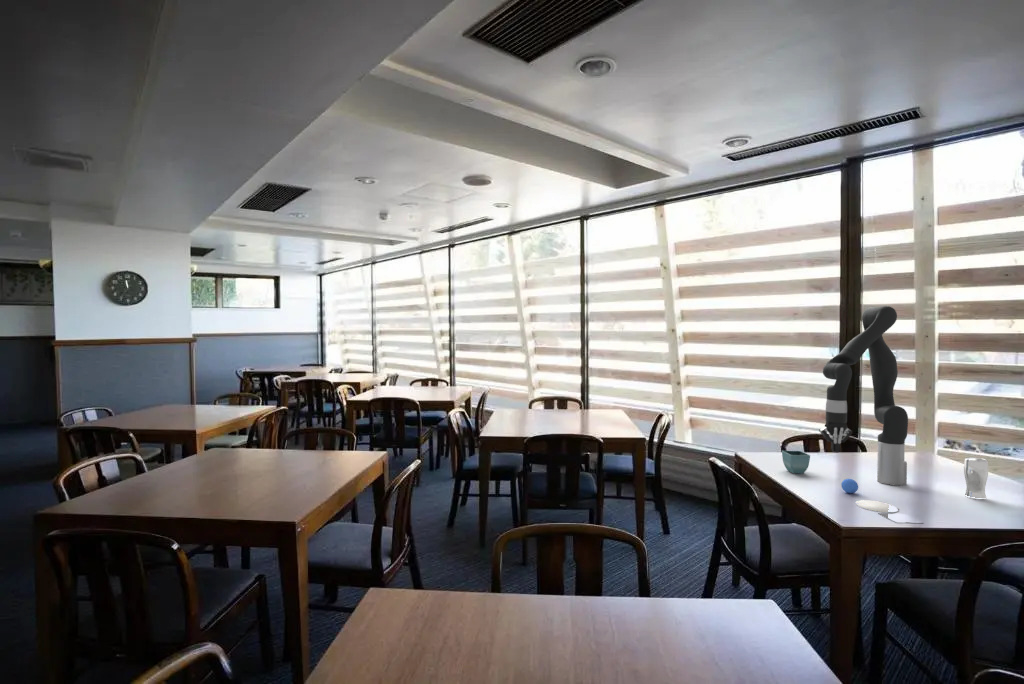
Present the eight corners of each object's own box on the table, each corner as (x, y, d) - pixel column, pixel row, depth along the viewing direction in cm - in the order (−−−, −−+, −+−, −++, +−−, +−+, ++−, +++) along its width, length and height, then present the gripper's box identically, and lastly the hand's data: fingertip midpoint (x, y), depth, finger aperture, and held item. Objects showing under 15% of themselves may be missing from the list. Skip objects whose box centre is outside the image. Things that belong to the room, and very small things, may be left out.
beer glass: (984, 501, 192) (985, 462, 191) (960, 496, 197) (961, 458, 197) (990, 498, 195) (990, 459, 195) (966, 493, 201) (967, 456, 201)
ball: (852, 490, 205) (852, 477, 205) (861, 495, 200) (861, 481, 199) (838, 490, 205) (838, 476, 205) (846, 495, 200) (846, 480, 200)
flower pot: (810, 475, 228) (810, 455, 228) (790, 474, 228) (791, 455, 228) (800, 469, 237) (800, 450, 237) (781, 469, 237) (781, 450, 237)
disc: (882, 500, 193) (882, 500, 193) (907, 513, 180) (907, 512, 180) (847, 500, 193) (847, 500, 193) (870, 512, 180) (870, 512, 180)
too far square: (904, 514, 179) (904, 513, 179) (923, 523, 170) (923, 522, 170) (877, 513, 179) (877, 513, 179) (896, 523, 170) (896, 522, 170)
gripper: (825, 411, 208) (824, 453, 208) (858, 412, 207) (857, 454, 208) (815, 409, 216) (814, 449, 216) (847, 409, 215) (846, 450, 215)
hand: (835, 452), depth 212 cm, fingers closed
